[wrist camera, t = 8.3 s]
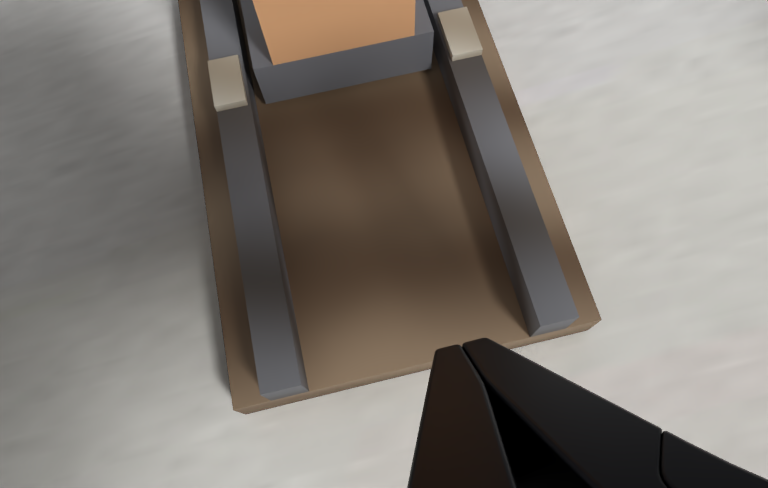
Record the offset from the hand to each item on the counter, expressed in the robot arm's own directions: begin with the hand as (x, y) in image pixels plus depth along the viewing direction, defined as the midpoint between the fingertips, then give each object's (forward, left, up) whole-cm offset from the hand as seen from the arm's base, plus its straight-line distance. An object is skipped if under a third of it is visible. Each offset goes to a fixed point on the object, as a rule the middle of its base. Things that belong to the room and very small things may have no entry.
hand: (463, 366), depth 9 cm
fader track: (+4, +10, -11) cm, 15 cm away
